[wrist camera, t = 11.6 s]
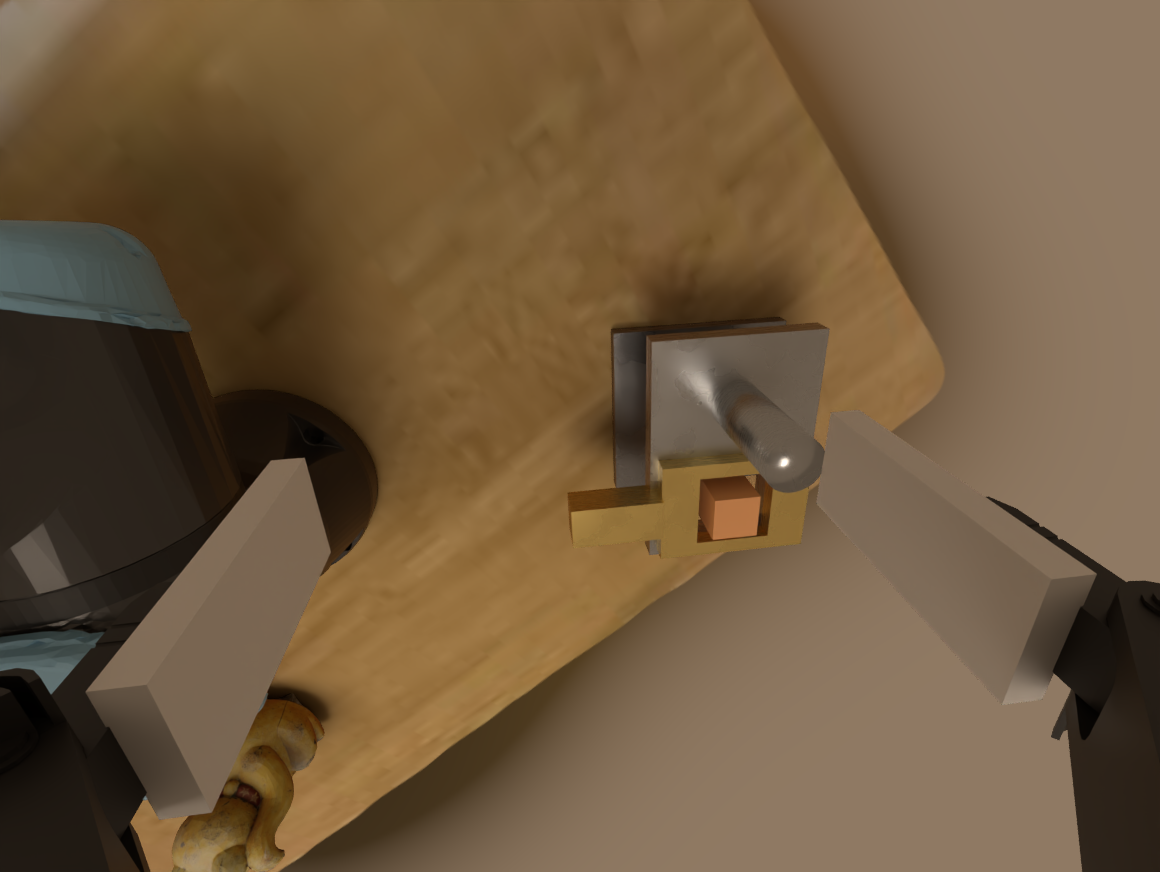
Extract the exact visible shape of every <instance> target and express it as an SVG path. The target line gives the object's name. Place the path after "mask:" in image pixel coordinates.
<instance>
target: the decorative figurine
mask: <svg viewBox="0 0 1160 872" xmlns="http://www.w3.org/2000/svg"><path fill="white" fill-rule="evenodd" d="M323 737H324V729H323V727H322V725H321V724H320V722H319V720H318V719H317V717H316V716H315V715H314V714H313V713H312V712H311V711H310V710H308V709H307V708H305V707H304V706H302V705H301V703H300V702H299V701H298V700H297V698H296V697H295V696H294V694H289V695H287V696H285V697H282V698H279V699H266V702H265V704H264V706H263V708H262V709H261V710H260V711H259V712H258V713H257V715H256V717H255V719H254V722H253V724H252V726H251V728H250V730H249V733H248V735H247V737H246V739H245V741H244V743H243V746H242V748H241V750H240V752H239V754H238V757H237V759H236V761H235V763H234V765H233V768H232V770H231V772H230V774H229V776H228V778H227V781H226V783H225V785H224V787H223V789H222V792H221V794H220V796H219V798H218V800H217V803H216V805H215V807H214V809H213V811H212V813H205V814H198V815H190V816H188V818H187V819H186V820H185V821H184V822H183V824H182V825H181V826H180V828H179V830H178V832H177V834H176V837H175V840H174V843H173V847H172V858H173V864H174V868H173V870H172V872H247V871H248V870H249V869H252V870H254V871H256V872H265V871H268V870H271V869H273V868H274V867H275V866H276V865H277V864H278V863H279V862H280V861H281V860H282V858H283V857H284V856H285V853H284V850H281V849H278V848H277V847H276V845H275V833H276V831H277V828H278V826H279V825H280V823H281V822H282V820H283V819H284V817H285V815H286V814H287V812H288V810H289V808H290V806H291V803H292V800H293V795H294V786H293V780H292V776H293V775H294V774H295V772H296V771H299V770H302V769H304V768H306V767H307V766H309V764H310V763H311V761H312V760H313V758H314V756H315V752H316V749H317V742H318V741H320V740H321V739H322V738H323Z"/></svg>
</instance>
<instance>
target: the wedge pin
mask: <svg viewBox="0 0 1160 872" xmlns="http://www.w3.org/2000/svg"><path fill="white" fill-rule="evenodd" d="M760 498H761V496H760V495H759V494H758V493H757V491H756V490H755V489H754V487H753V486H752V485H751V483H750V482H749V481H748V480H747V478H746V477H745V476H744V475H742V476H731V477H721V478H711V479H700V495H699V513H698V514H699V516H700V518H701V520H702V521H703V523H704V525H705V527H706V529H707V531H708V532H709V534H710V536H711V538H712V540H717V539H726V538H735V537H745V536H754V535H757V526H758V517H759V508H760Z"/></svg>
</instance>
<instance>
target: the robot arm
mask: <svg viewBox="0 0 1160 872" xmlns="http://www.w3.org/2000/svg"><path fill="white" fill-rule="evenodd" d="M189 331H192V330H191V326H190V324H189V322H188V321H187V320H185V319H183V318H182V316H181V314H180V312H179V310H178V308H177V306H176V304H175V302H174V299H173V297H172V295H171V293H170V290H169V288H168V286H167V283H166V281H165V279H164V276H163V274H162V272H161V269H160V267H159V265H158V263H157V261H156V259H155V257H154V255H153V254H152V253H151V251H150V250H149V249H148V248H147V247H146V246H145V245H144V244H143V243H142V242H141V241H140V240H138V239H137V238H136V237H134V236H133V235H131V234H129V233H127V232H125V231H123V230H121V229H119V228H116V227H113V226H110V225H106V224H101V223H90V222H69V221H32V220H0V872H150V869H149V866H148V863H147V860H146V857H145V854H144V852H143V849H142V846H141V843H140V840H139V837H138V834H137V833H136V831H135V830H134V828H133V826H132V825H131V823H130V822H131V820H132V818H133V816H134V815H135V813H136V811H137V810H138V808H139V806H140V804H141V803H142V801H143V800H147V799H148V801H149V803H150V804H151V806H152V808H153V809H154V811H155V813H156V815H157V816H158V818H159V820H161V819H168V818H176V817H183V816H190V815H198V814H205V813H212V811H213V809H214V807H215V805H216V803H217V800H218V798H219V796H220V794H221V792H222V789H223V787H224V785H225V783H226V781H227V778H228V776H229V774H230V772H231V770H232V768H233V765H234V763H235V761H236V759H237V757H238V754H239V752H240V750H241V748H242V746H243V743H244V741H245V739H246V737H247V735H248V733H249V730H250V728H251V726H252V724H253V722H254V719H255V717H256V715H257V713H258V712H259V711H260V710H261V709H262V708H263V706H264V704H265V702H266V699H267V696H268V693H267V691H268V689H269V687H270V684H271V682H272V680H273V678H274V676H275V673H276V671H277V669H278V667H279V665H280V662H281V660H282V658H283V656H284V654H285V652H286V649H287V647H288V645H289V643H290V641H291V638H292V636H293V634H294V632H295V630H296V627H297V625H298V623H299V621H300V619H301V616H302V614H303V612H304V610H305V608H306V606H307V603H308V601H309V599H310V597H311V595H312V592H313V590H314V588H315V586H316V584H317V581H318V579H319V577H320V576H321V575H323V574H324V573H325V572H326V571H327V570H328V569H329V568H330V566H331V565H333V564H334V563H336V562H337V561H339V560H340V559H341V558H343V557H344V556H345V555H346V554H347V553H349V552H350V551H351V550H352V549H353V548H354V546H355V545H356V544H357V543H358V541H359V540H360V539H361V537H362V536H363V534H364V532H365V530H366V528H367V526H368V524H369V521H370V519H371V516H372V513H373V511H374V508H375V504H376V500H377V491H378V484H377V476H376V471H375V467H374V464H373V461H372V459H371V457H370V455H369V453H368V451H367V449H366V447H365V446H364V444H363V443H362V441H361V440H360V438H359V437H358V436H357V435H356V434H355V432H354V431H353V430H352V429H351V428H350V427H349V426H348V425H347V424H346V423H345V422H343V421H342V420H341V419H340V418H338V417H337V416H336V415H334V414H333V413H331V412H330V411H328V410H327V409H325V408H323V407H322V406H320V405H318V404H316V403H314V402H311V401H309V400H307V399H304V398H301V397H298V396H295V395H291V394H287V393H283V392H277V391H269V390H246V391H238V392H232V393H228V394H225V395H222V396H219V397H216V398H214V399H212V396H211V393H210V391H209V388H208V385H207V382H206V379H205V377H204V374H203V371H202V368H201V365H200V363H199V360H198V357H197V354H196V352H195V349H194V346H193V343H192V340H191V338H190V335H189ZM816 504H817V505H818V506H819V507H820V508H821V509H822V510H823V511H824V512H825V513H826V515H827V516H828V517H829V518H830V519H831V520H832V521H833V522H834V523H835V524H836V525H837V526H838V528H839V529H840V530H841V531H842V532H843V533H844V534H845V535H846V536H847V537H848V538H849V539H850V541H851V542H852V543H853V544H854V545H855V546H856V547H857V548H858V549H859V550H860V551H861V553H862V554H863V555H864V556H865V557H866V558H867V559H868V560H869V561H870V562H871V563H872V565H873V566H874V567H875V568H876V569H877V570H878V571H879V572H880V573H881V574H882V575H883V577H884V578H885V579H886V580H887V581H888V582H889V583H890V584H891V585H892V586H893V587H894V588H895V589H896V591H897V592H898V593H899V594H900V595H901V596H902V597H903V598H904V599H905V600H906V602H907V603H908V604H909V605H910V606H911V607H912V608H913V609H914V610H915V611H916V612H917V613H918V615H919V616H920V617H921V618H922V619H923V620H924V621H925V622H926V623H927V624H928V625H929V627H930V628H931V629H932V630H933V631H934V632H935V633H936V634H937V635H938V636H939V637H940V638H941V640H942V641H943V642H944V643H945V644H946V645H947V646H948V647H949V648H950V649H951V650H952V651H953V653H954V654H955V655H956V656H957V657H958V658H959V659H960V660H961V661H962V662H963V663H964V665H965V666H966V667H967V668H968V669H969V670H970V671H971V672H972V673H973V674H974V675H975V676H976V678H977V679H978V680H979V681H980V682H981V683H982V684H983V685H984V686H985V687H986V688H987V690H989V692H990V693H991V694H992V695H993V696H994V697H995V698H996V699H997V700H998V701H999V702H1000V703H1001V705H1005V704H1013V703H1020V702H1027V701H1035V700H1042V699H1043V697H1044V694H1045V692H1046V690H1047V687H1048V685H1049V683H1050V681H1051V678H1052V676H1053V674H1055V675H1057V676H1058V677H1059V678H1060V679H1061V680H1062V681H1063V682H1064V683H1065V684H1066V685H1067V686H1068V687H1070V688H1071V691H1070V694H1069V696H1068V698H1067V700H1066V702H1065V705H1064V707H1063V709H1062V711H1061V713H1060V715H1059V717H1058V720H1057V722H1056V724H1055V726H1054V728H1053V732H1052V735H1051V737H1052V738H1055V739H1057V740H1059V739H1060V737H1061V735H1062V733H1063V731H1065V730H1068V739H1069V749H1070V758H1071V767H1072V777H1073V787H1074V796H1075V806H1076V815H1077V825H1078V835H1079V845H1080V854H1081V864H1082V872H1160V583H1154V582H1149V581H1128V582H1125V581H1124V580H1122V579H1121V578H1119V577H1118V576H1116V575H1115V574H1113V573H1112V572H1110V571H1109V570H1107V569H1106V568H1104V567H1103V566H1102V565H1100V564H1098V563H1097V562H1095V561H1094V560H1093V559H1091V558H1090V557H1088V556H1087V555H1085V554H1084V553H1082V552H1080V551H1079V550H1078V549H1076V548H1075V547H1073V546H1071V545H1070V544H1069V543H1067V542H1066V541H1064V540H1062V539H1060V540H1059V539H1058V538H1057V535H1055V534H1053V533H1052V532H1051V531H1049V530H1048V529H1046V528H1045V527H1040V526H1039V523H1037V522H1036V521H1034V520H1033V519H1031V518H1030V517H1028V516H1027V515H1025V514H1024V513H1022V512H1021V511H1019V510H1018V509H1016V508H1014V507H1011V506H1009V505H1007V504H1004V503H1002V502H1000V501H997V500H995V499H993V498H990V497H985V496H983V495H982V494H980V493H979V492H977V491H976V490H974V489H973V488H972V487H970V486H969V485H967V484H966V483H964V482H963V481H961V480H960V479H959V478H957V477H956V476H954V475H953V474H951V473H950V472H948V471H947V470H945V469H944V468H942V467H941V466H940V465H938V464H937V463H935V462H934V461H932V460H931V459H930V458H928V457H927V456H925V455H924V454H922V453H921V452H919V451H918V450H916V449H915V448H914V447H912V446H911V445H909V444H908V443H906V442H905V441H903V440H902V439H900V438H899V437H898V436H896V435H895V434H893V433H892V432H890V431H889V430H887V429H886V428H885V427H883V426H882V425H880V424H879V423H877V422H876V421H874V420H873V419H871V418H870V417H869V416H867V415H866V414H864V413H863V412H861V411H860V410H854V411H842V412H831V416H830V422H829V428H828V434H827V440H826V447H825V453H824V459H823V465H822V471H821V477H820V484H819V490H818V496H817V503H816Z"/></svg>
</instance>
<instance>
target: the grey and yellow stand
mask: <svg viewBox="0 0 1160 872" xmlns="http://www.w3.org/2000/svg"><path fill="white" fill-rule="evenodd" d="M828 336H829V328H827V327H825V326H823V325H821V324H819V323H806V324H792V325H786V320H784V319H782V318H780V317H773V318H760V319H746V320H732V321H719V322H705V323H691V324H678V325H664V326H650V327H637V328H623V329H611V361H612V410H613V459H614V483H615V486H616V488H610V489H600V490H589V491H579V492H569V493H568V509H569V525H570V532H571V538H572V544H573V548H582V547H591V546H600V545H610V544H619V543H629V542H638V541H645V544H646V547H647V549H648V552H649V555H654V554H659V556H660V558H661V559H665V558H674V557H683V556H692V555H702V554H711V553H720V552H729V551H738V550H747V549H757V548H766V547H775V546H784V545H793V544H800V543H801V537H802V531H803V524H804V517H805V510H806V504H807V496H808V490H809V486H810V485H811V484H813V483H814V482H815V481H816V480H817V479H818V477H819V476H820V475H821V471H822V465H823V459H824V453H825V451H824V449H823V447H822V446H821V444H820V443H819V442H817V441H816V440H815V439H814V431H815V424H816V417H817V411H818V404H819V397H820V390H821V383H822V377H823V370H824V363H825V356H826V349H827V343H828ZM742 475H744V476H750V475H756V484H755V490H756V491H757V493H758V494H759V495H760V496H761V498H760V508H759V517H758V526H757V535H754V536H745V537H735V538H726V539H717V540H712V538H711V536H710V534H709V532H708V531H707V529H706V527H705V525H704V523H703V521H702V520H698V513H699V495H700V479H711V478H721V477H731V476H742Z"/></svg>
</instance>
